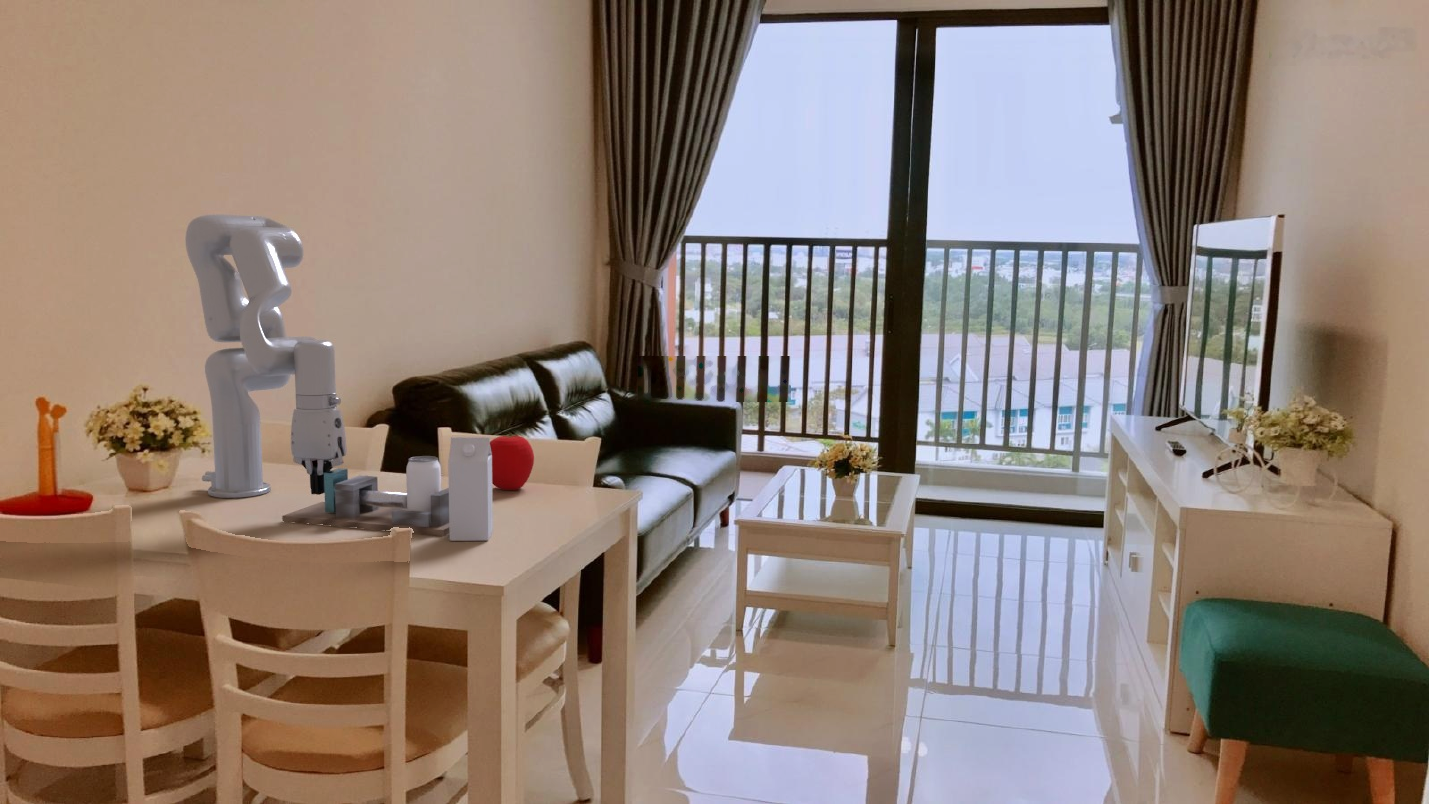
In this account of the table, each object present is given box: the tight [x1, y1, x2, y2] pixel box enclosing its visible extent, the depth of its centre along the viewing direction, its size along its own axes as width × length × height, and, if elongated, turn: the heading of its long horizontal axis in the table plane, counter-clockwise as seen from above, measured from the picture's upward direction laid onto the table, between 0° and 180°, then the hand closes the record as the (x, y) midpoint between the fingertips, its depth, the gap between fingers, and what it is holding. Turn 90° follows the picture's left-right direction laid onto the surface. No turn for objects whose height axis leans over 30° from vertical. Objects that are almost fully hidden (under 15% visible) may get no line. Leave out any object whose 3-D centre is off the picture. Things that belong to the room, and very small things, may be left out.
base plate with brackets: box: [281, 475, 450, 537], centre depth 216 cm, size 35×13×8 cm, turn 75°
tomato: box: [490, 432, 535, 491], centre depth 246 cm, size 11×11×13 cm
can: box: [405, 455, 442, 512], centre depth 213 cm, size 6×6×12 cm
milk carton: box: [447, 436, 494, 542], centre depth 205 cm, size 7×7×19 cm
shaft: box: [324, 467, 407, 513], centre depth 216 cm, size 17×5×8 cm, turn 75°
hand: (319, 493), depth 219 cm, fingers closed
